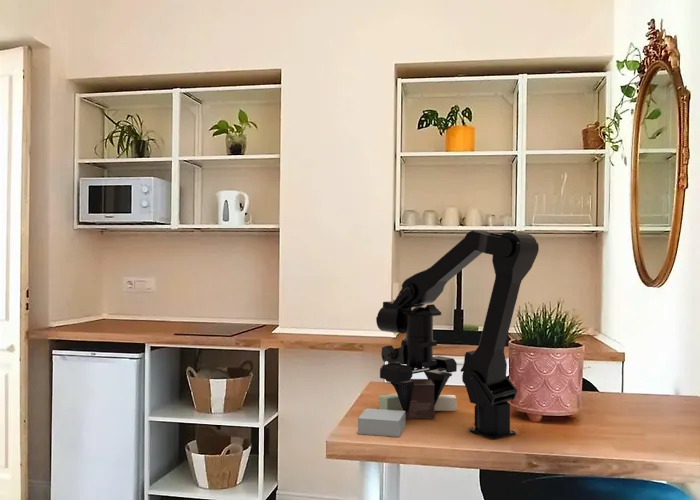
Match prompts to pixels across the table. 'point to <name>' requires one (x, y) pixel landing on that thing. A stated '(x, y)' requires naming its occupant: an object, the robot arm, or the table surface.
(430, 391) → the box
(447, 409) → the cream brick
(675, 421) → the table surface
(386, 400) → the sage brick
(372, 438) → the table surface
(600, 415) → the table surface
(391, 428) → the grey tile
